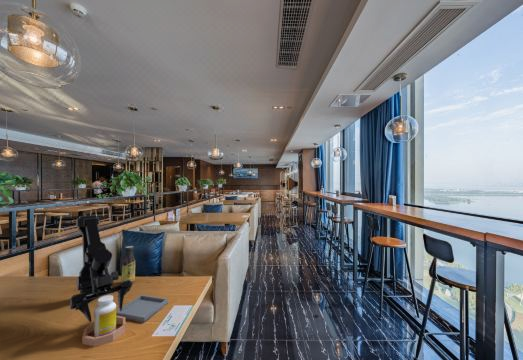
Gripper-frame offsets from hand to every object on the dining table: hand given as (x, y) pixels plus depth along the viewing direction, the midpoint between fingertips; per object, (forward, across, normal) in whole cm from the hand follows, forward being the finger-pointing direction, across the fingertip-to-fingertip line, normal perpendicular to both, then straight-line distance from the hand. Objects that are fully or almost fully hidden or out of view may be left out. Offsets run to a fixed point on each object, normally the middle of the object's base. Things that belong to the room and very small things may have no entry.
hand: (106, 315), depth 81 cm
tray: (-1, +15, +10) cm, 18 cm away
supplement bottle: (+4, 0, +6) cm, 7 cm away
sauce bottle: (-23, +18, +33) cm, 44 cm away
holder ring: (+4, 0, +6) cm, 7 cm away
